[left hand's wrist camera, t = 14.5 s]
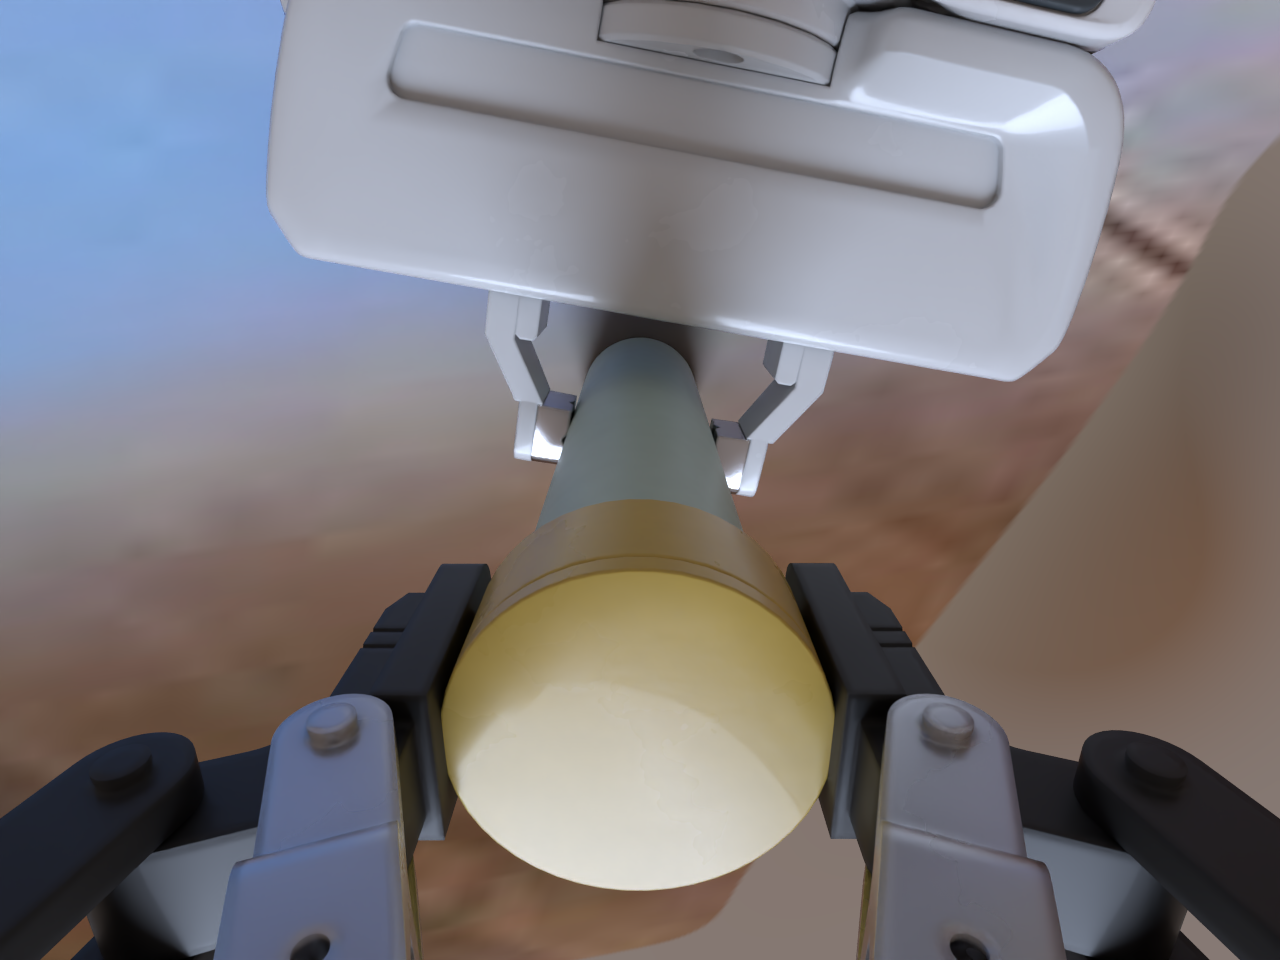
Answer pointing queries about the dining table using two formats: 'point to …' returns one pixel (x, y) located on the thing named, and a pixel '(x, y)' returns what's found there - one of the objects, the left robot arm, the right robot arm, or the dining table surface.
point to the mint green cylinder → (639, 437)
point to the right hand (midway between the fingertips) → (635, 472)
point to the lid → (638, 700)
